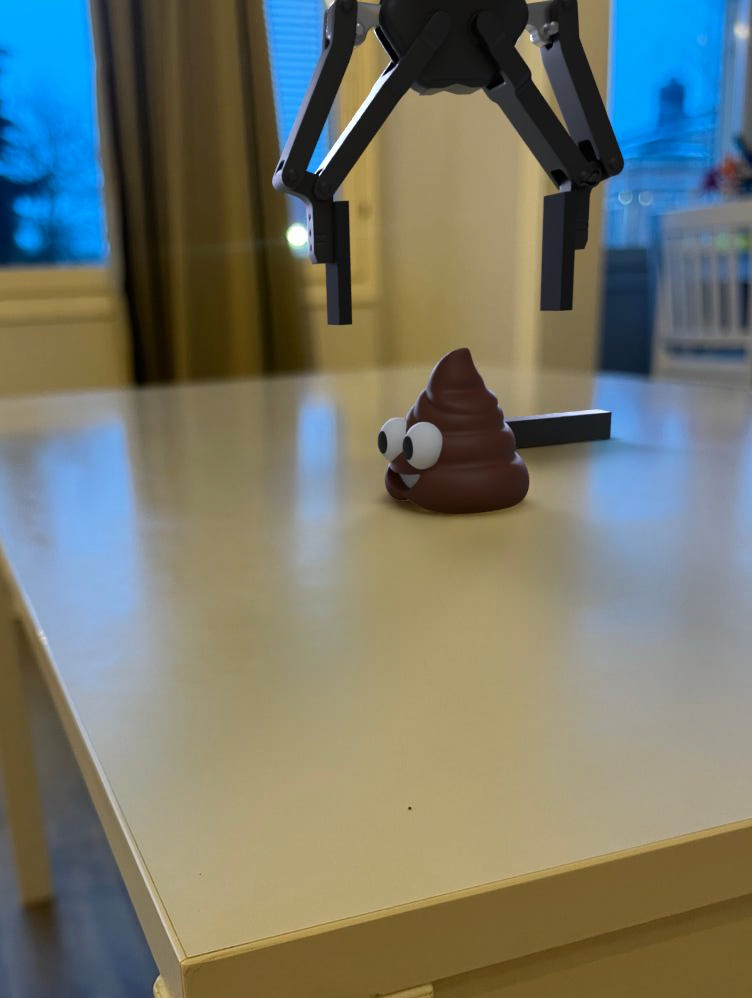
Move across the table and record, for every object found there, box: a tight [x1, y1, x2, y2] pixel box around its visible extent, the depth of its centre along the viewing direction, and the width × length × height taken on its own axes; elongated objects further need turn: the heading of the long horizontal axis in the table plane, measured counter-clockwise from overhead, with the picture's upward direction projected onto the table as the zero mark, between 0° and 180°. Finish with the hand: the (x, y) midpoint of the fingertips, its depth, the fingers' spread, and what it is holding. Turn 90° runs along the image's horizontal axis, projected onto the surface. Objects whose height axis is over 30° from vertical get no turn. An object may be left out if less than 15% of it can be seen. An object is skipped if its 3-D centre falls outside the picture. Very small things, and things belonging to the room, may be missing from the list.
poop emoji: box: [377, 347, 530, 515], centre depth 61 cm, size 10×8×9 cm
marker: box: [504, 409, 613, 449], centre depth 81 cm, size 13×2×2 cm, turn 102°
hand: (449, 318), depth 59 cm, fingers open, 13 cm apart
